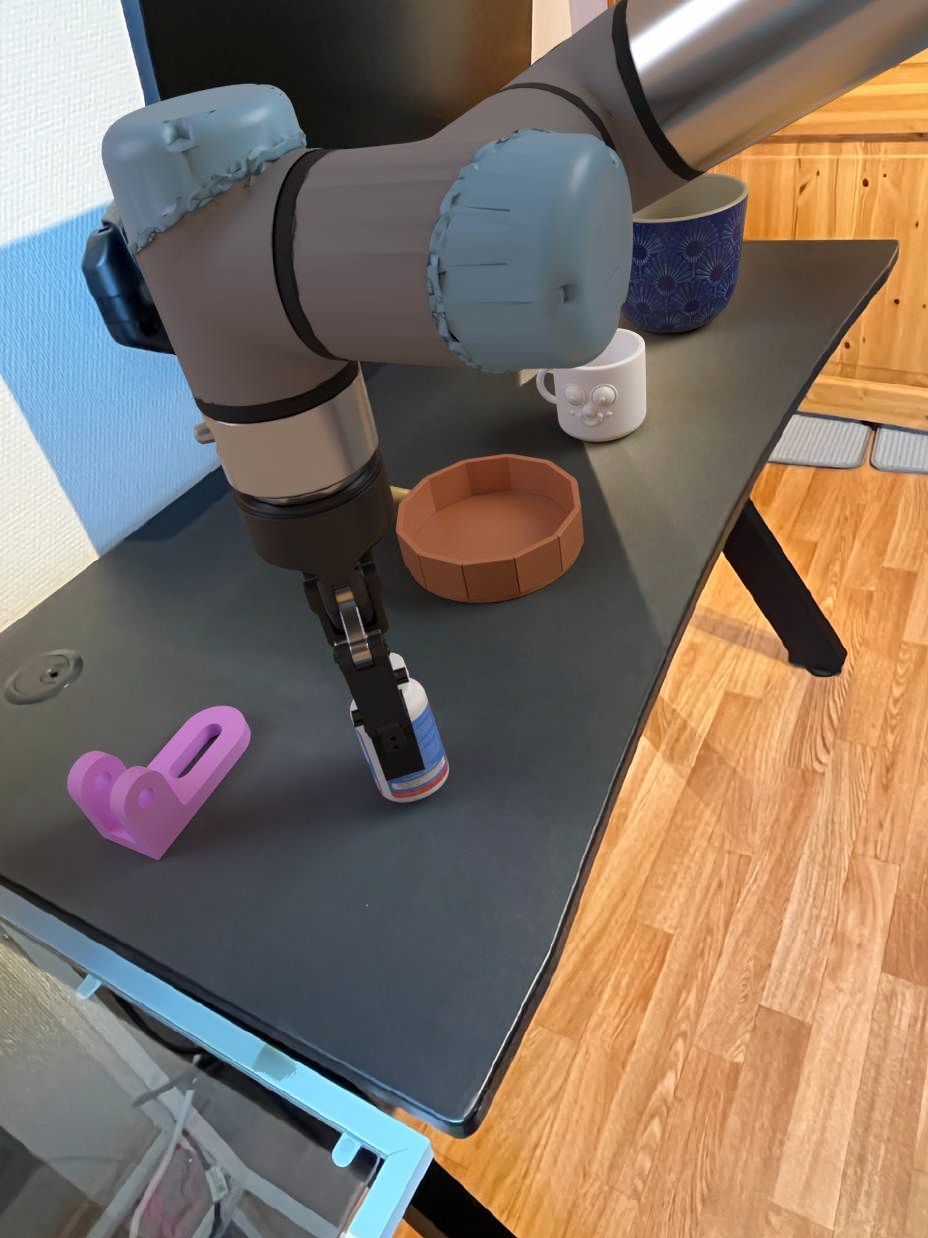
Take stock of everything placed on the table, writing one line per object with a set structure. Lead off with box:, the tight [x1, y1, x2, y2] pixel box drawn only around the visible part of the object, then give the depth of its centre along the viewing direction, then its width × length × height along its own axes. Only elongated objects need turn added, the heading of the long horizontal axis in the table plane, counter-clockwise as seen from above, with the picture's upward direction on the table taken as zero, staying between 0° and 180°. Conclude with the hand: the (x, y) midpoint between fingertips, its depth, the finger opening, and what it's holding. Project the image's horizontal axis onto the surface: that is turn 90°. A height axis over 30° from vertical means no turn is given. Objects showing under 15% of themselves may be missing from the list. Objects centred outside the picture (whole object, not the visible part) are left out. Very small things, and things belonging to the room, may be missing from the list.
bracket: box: [66, 705, 252, 861], centre depth 63 cm, size 13×6×7 cm, turn 154°
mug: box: [535, 327, 647, 443], centre depth 91 cm, size 12×10×9 cm
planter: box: [620, 172, 750, 334], centre depth 105 cm, size 17×17×15 cm
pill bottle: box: [349, 652, 450, 804], centre depth 59 cm, size 6×5×10 cm
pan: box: [390, 453, 585, 604], centre depth 82 cm, size 28×17×5 cm, turn 59°
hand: (403, 767), depth 56 cm, fingers closed
